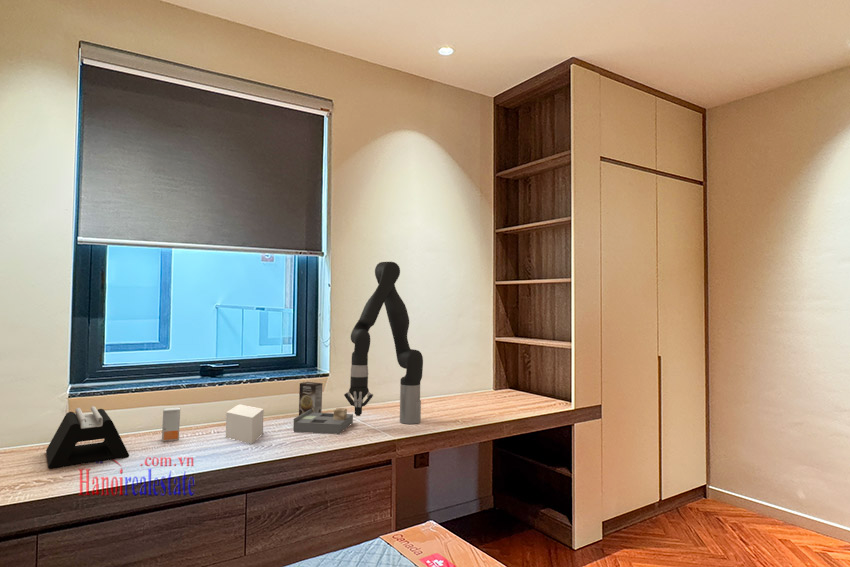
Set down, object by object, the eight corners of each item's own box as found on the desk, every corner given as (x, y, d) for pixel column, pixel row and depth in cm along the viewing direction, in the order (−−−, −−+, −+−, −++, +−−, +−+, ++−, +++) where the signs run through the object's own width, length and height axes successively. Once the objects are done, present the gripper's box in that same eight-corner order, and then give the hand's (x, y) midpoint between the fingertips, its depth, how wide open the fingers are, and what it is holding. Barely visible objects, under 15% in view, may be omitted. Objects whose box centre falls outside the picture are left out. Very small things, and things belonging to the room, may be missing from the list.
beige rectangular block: (231, 447, 190) (232, 419, 190) (220, 430, 215) (221, 405, 216) (270, 442, 197) (271, 415, 198) (255, 426, 222) (256, 402, 223)
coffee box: (298, 417, 240) (298, 383, 240) (306, 415, 246) (306, 381, 246) (314, 419, 236) (315, 384, 237) (322, 416, 242) (322, 382, 243)
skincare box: (161, 441, 195) (162, 410, 196) (161, 439, 199) (162, 408, 200) (179, 440, 198) (180, 409, 199) (179, 437, 202) (180, 407, 202)
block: (346, 417, 223) (346, 408, 223) (343, 420, 218) (343, 410, 219) (336, 417, 223) (336, 408, 224) (333, 419, 219) (333, 410, 219)
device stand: (48, 470, 162) (50, 422, 162) (45, 453, 180) (47, 410, 180) (129, 457, 176) (130, 414, 176) (119, 443, 193) (120, 403, 194)
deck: (352, 423, 230) (353, 410, 230) (339, 434, 210) (339, 420, 210) (310, 421, 233) (310, 409, 233) (293, 431, 213) (293, 418, 213)
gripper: (341, 375, 217) (340, 416, 217) (372, 376, 216) (371, 418, 215) (346, 373, 225) (345, 413, 224) (376, 374, 223) (375, 414, 222)
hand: (358, 415), depth 220 cm, fingers closed
